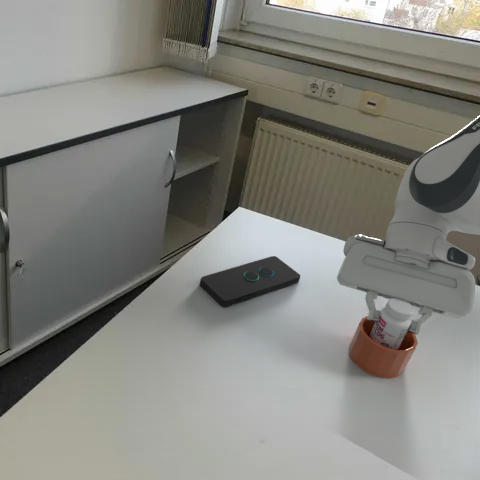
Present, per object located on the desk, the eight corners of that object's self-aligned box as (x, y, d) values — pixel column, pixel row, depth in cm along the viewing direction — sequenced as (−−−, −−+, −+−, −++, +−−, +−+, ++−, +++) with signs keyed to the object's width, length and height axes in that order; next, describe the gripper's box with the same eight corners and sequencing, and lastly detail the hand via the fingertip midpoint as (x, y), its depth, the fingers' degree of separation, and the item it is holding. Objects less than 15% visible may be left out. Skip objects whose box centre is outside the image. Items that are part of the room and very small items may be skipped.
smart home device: (302, 276, 109) (225, 301, 100) (300, 282, 110) (223, 308, 101) (274, 254, 115) (199, 276, 106) (272, 260, 116) (197, 283, 107)
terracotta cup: (409, 357, 94) (422, 331, 91) (396, 387, 88) (410, 360, 85) (357, 332, 98) (368, 307, 95) (341, 359, 92) (352, 333, 89)
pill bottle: (362, 340, 91) (379, 302, 87) (377, 330, 94) (395, 292, 89) (388, 358, 88) (407, 319, 84) (403, 347, 91) (422, 308, 86)
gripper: (351, 226, 91) (330, 304, 88) (487, 261, 85) (467, 346, 83) (345, 236, 97) (324, 309, 94) (471, 269, 91) (452, 348, 88)
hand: (392, 327), depth 88 cm, fingers closed on pill bottle, 5 cm apart
